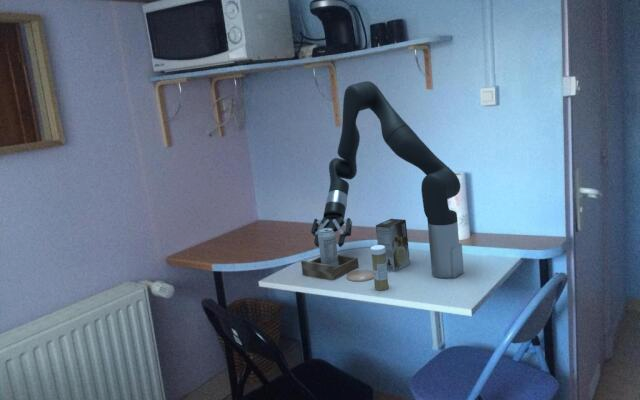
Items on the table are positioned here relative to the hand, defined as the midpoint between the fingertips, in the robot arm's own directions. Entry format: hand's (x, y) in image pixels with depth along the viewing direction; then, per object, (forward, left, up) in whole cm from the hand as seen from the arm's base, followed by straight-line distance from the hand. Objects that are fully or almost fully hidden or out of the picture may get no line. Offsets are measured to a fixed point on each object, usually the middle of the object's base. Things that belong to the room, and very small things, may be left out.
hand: (328, 245), depth 193 cm
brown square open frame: (0, +1, -9) cm, 9 cm away
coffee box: (-19, -11, -9) cm, 24 cm away
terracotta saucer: (-14, 0, -9) cm, 16 cm away
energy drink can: (0, +1, -9) cm, 9 cm away
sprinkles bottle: (-26, +7, -9) cm, 28 cm away
